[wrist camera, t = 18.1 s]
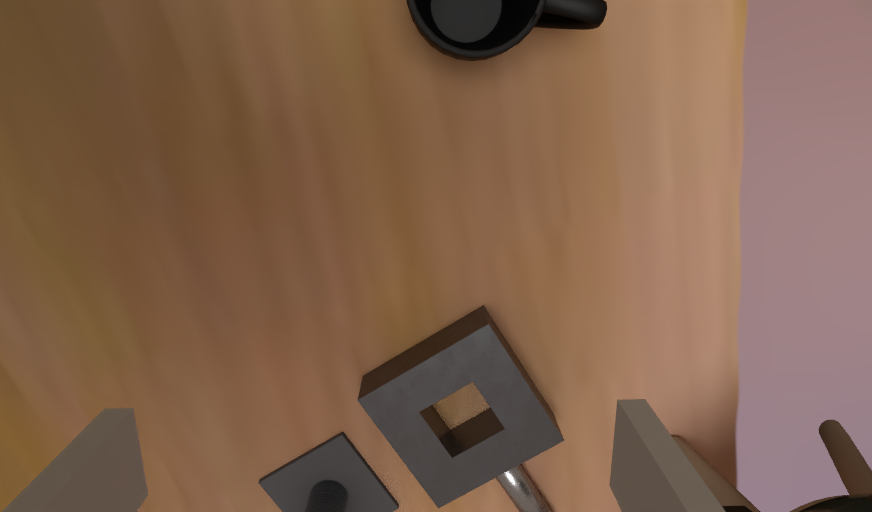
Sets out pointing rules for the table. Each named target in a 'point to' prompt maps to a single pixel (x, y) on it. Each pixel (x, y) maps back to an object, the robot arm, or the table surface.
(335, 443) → the mat
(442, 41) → the mug
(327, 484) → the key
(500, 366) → the block
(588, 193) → the table surface
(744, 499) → the planter
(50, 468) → the robot arm
